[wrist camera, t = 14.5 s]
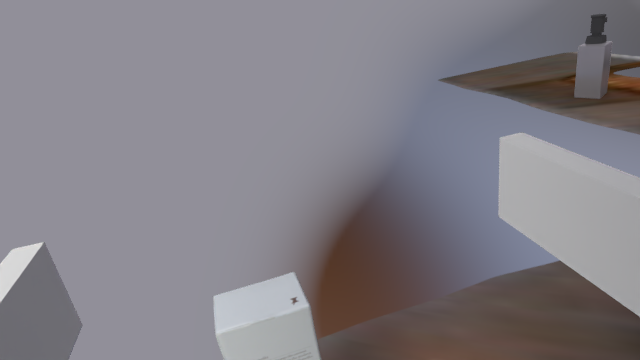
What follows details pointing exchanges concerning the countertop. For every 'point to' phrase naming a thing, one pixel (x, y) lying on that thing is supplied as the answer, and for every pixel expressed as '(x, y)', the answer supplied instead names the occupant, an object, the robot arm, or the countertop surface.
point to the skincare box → (266, 322)
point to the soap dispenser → (593, 62)
